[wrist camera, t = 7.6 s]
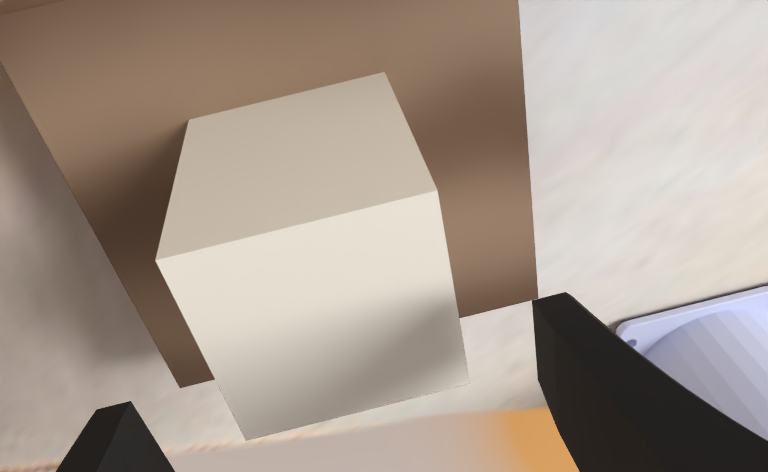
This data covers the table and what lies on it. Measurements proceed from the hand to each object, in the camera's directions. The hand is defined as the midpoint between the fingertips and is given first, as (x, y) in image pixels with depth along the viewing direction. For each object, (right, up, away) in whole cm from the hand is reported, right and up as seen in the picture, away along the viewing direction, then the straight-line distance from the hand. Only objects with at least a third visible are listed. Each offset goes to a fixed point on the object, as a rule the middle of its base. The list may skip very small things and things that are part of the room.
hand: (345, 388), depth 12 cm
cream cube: (-1, +4, +6) cm, 7 cm away
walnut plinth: (-2, +6, +8) cm, 10 cm away
